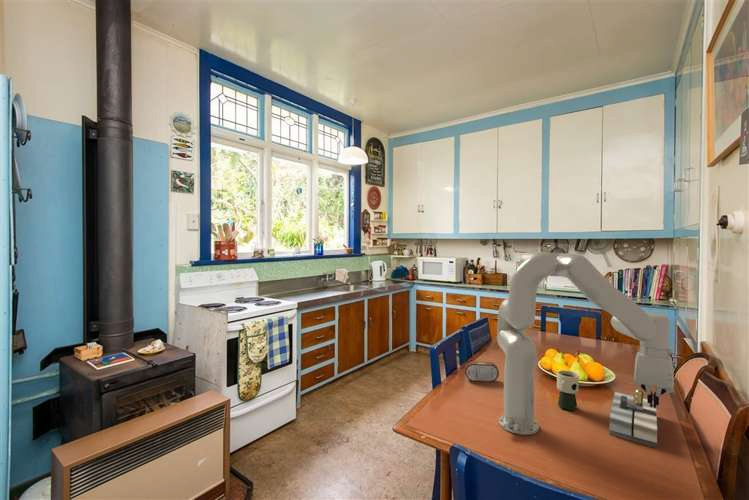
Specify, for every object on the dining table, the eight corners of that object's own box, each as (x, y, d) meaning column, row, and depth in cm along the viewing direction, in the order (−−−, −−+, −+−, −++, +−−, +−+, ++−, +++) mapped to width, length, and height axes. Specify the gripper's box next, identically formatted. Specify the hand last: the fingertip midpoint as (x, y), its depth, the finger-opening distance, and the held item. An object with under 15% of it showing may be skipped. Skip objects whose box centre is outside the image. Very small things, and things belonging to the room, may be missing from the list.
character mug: (572, 416, 125) (573, 380, 125) (551, 409, 131) (552, 374, 130) (582, 406, 133) (583, 372, 132) (562, 400, 138) (562, 367, 138)
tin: (497, 380, 158) (497, 361, 158) (499, 383, 155) (499, 364, 155) (463, 379, 160) (463, 360, 159) (464, 381, 156) (464, 363, 156)
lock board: (656, 447, 106) (657, 420, 106) (609, 434, 114) (609, 409, 113) (655, 416, 125) (655, 392, 125) (614, 406, 133) (615, 384, 132)
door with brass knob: (643, 410, 117) (643, 391, 117) (622, 405, 120) (622, 387, 120) (643, 408, 119) (643, 389, 118) (623, 403, 122) (623, 385, 122)
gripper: (683, 352, 114) (682, 408, 114) (626, 344, 123) (625, 396, 124) (685, 359, 108) (683, 417, 109) (625, 349, 117) (624, 404, 118)
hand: (652, 406), depth 116 cm, fingers closed
